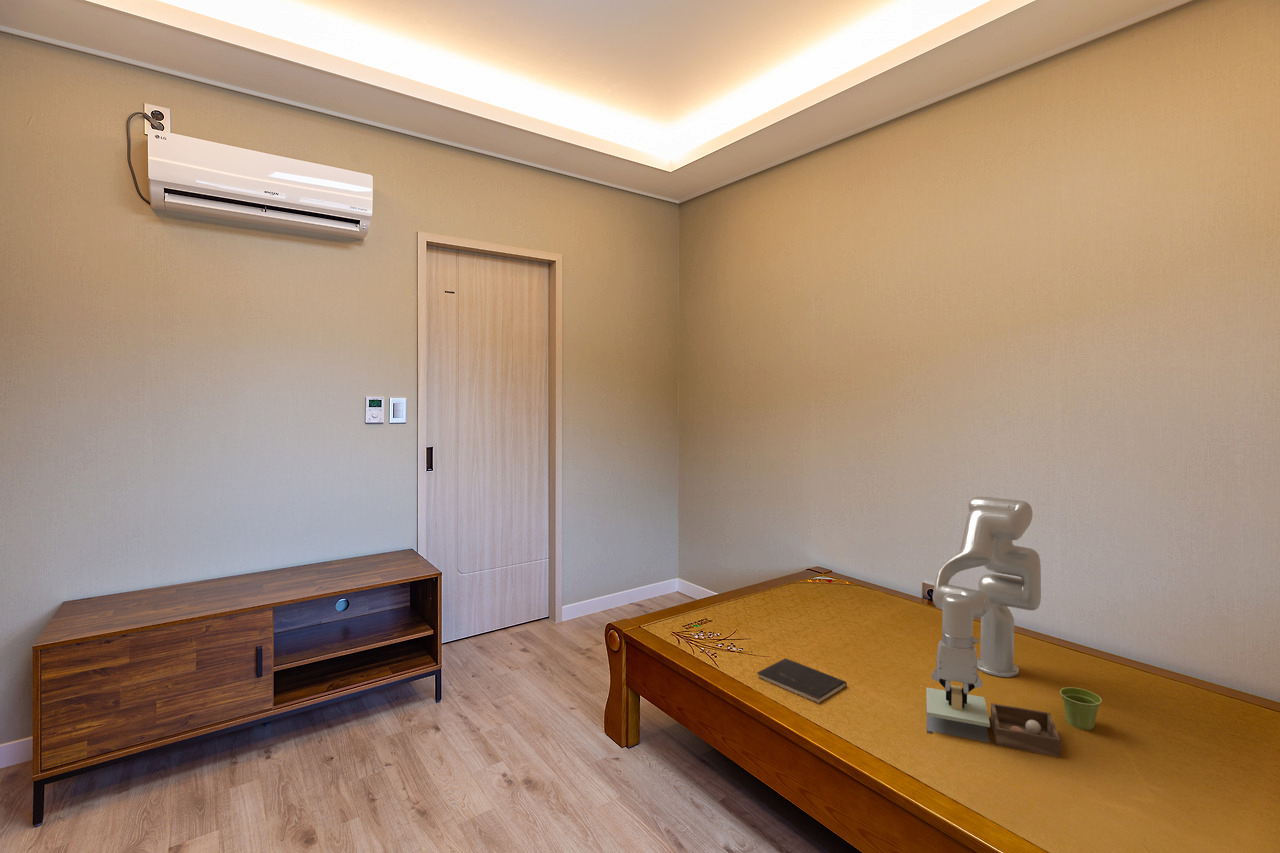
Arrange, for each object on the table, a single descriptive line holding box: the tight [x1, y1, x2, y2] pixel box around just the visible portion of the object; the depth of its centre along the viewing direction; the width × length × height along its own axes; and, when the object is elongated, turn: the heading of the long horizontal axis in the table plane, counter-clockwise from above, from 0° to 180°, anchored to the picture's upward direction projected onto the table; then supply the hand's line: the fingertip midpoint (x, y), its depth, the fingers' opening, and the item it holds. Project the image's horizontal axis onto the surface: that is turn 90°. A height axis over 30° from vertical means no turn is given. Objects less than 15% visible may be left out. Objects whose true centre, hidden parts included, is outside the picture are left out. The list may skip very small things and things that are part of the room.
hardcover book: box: [756, 658, 848, 704], centre depth 198 cm, size 16×23×2 cm
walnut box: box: [990, 702, 1062, 758], centre depth 164 cm, size 14×14×5 cm
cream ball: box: [1025, 720, 1041, 734], centre depth 165 cm, size 4×4×4 cm
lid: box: [925, 684, 991, 728], centre depth 171 cm, size 15×15×5 cm
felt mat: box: [925, 703, 990, 744], centre depth 171 cm, size 15×15×1 cm
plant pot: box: [1059, 686, 1103, 731], centre depth 169 cm, size 9×9×9 cm
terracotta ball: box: [1009, 726, 1024, 732], centre depth 162 cm, size 4×4×4 cm
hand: (956, 703), depth 171 cm, fingers closed on lid, 2 cm apart
